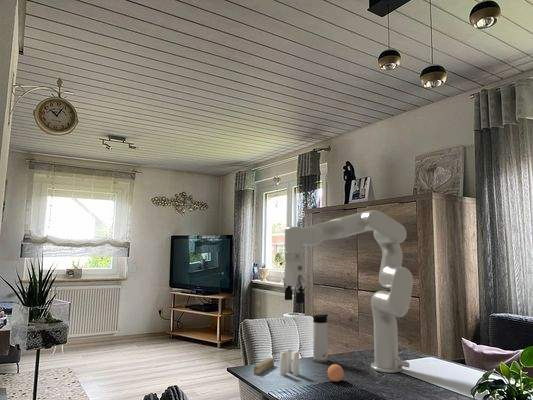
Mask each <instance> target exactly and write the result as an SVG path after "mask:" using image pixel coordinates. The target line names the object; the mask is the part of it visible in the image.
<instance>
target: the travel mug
mask: <svg viewBox="0 0 533 400" xmlns="http://www.w3.org/2000/svg"><path fill="white" fill-rule="evenodd" d="M327 317H329V314H316V315H313V317H312V319H313V321H312V336H313V337H312V338H313V339H312V344H313V345H312V350H313V351H312V352H313V353H312V354H313V355H312V356H313V357H312V360H313V361H314V362H315V363H327V362H328V318H327Z"/></svg>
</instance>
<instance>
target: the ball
mask: <svg viewBox="0 0 533 400" xmlns="http://www.w3.org/2000/svg"><path fill="white" fill-rule="evenodd" d="M344 374H345V373H344V369H343V368H342V366H341V365H339V364H336V363H333V364H331V365H330V366H329V367H328V368H327V376H328V378H329V379H330V381H332V382H340V381H341V380H342V379H343V378H344V376H345V375H344Z"/></svg>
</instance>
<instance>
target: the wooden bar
mask: <svg viewBox="0 0 533 400" xmlns="http://www.w3.org/2000/svg"><path fill="white" fill-rule="evenodd" d="M274 365H275V359H274V357H268V358H266V359H265V360H262V361H261V362H259V363H257V364H255V365H254V366H253V375H258V376H259V375H261V374H262V373H263V372H265V371H267V370H269V369H270V368H272V367H274Z"/></svg>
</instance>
